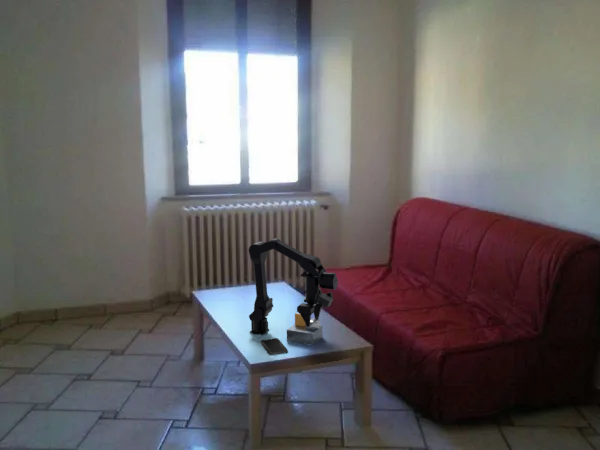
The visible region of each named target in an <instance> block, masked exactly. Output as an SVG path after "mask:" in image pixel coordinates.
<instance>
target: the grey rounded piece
mask: <svg viewBox="0 0 600 450" xmlns="http://www.w3.org/2000/svg"><path fill="white" fill-rule="evenodd" d="M320 326H321V320H320V319H315V318H311V320H310V326H309V327H307V326H306V329H308V330H318V329H319V328H320Z"/></svg>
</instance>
